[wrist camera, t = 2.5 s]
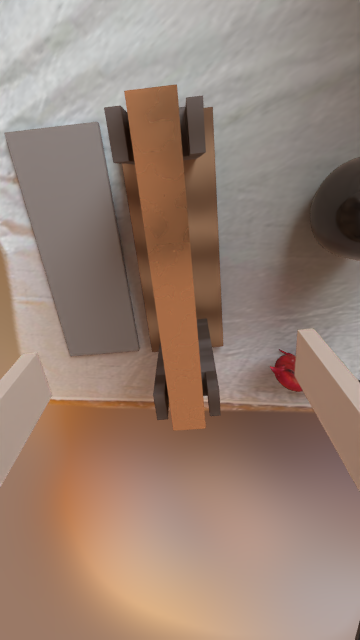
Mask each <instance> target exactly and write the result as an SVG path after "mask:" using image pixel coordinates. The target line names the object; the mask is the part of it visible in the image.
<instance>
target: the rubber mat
mask: <svg viewBox="0 0 360 640" xmlns="http://www.w3.org/2000/svg"><path fill="white" fill-rule="evenodd" d="M5 136H6V140H7V143H8V147H9V150H10V153H11V157H12V160H13V164H14V167H15V170H16V174H17V177H18V180H19V184H20V187H21V191H22V194H23V197H24V201H25V204H26V208H27V211H28V214H29V218H30V221H31V224H32V228H33V231H34V235H35V238H36V241H37V245H38V248H39V252H40V255H41V258H42V262H43V265H44V269H45V272H46V275H47V279H48V282H49V285H50V289H51V292H52V296H53V299H54V302H55V306H56V309H57V313H58V316H59V319H60V323H61V326H62V329H63V333H64V336H65V340H66V343H67V346H68V350H69V353H70V356H81V355H93V354H105V353H117V352H129V351H139V342H138V337H137V331H136V326H135V320H134V315H133V309H132V304H131V298H130V292H129V287H128V281H127V276H126V270H125V265H124V259H123V254H122V248H121V243H120V237H119V231H118V226H117V220H116V215H115V209H114V204H113V198H112V193H111V187H110V181H109V176H108V170H107V165H106V159H105V154H104V148H103V143H102V137H101V131H100V126H99V123H98V122H91V123H83V124H74V125H66V126H57V127H49V128H41V129H32V130H24V131H15V132H7V133H5Z"/></svg>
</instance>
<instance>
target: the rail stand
mask: <svg viewBox="0 0 360 640" xmlns="http://www.w3.org/2000/svg"><path fill="white" fill-rule="evenodd" d="M104 110H105V116H106V122H107V127H108V133H109V139H110V145H111V151H112V157H113V163H122V167H123V173H124V180H125V186H126V192H127V198H128V205H129V211H130V217H131V223H132V229H133V236H134V242H135V248H136V254H137V261H138V267H139V273H140V279H141V285H142V292H143V298H144V304H145V310H146V317H147V323H148V329H149V335H150V341H151V348H152V352H159V353H158V361H157V369H156V377H155V385H154V393H153V397H154V402H155V408H156V414H157V420H164V419H168V409H169V396H168V389H167V382H166V376H165V369H164V362H163V355H162V348H161V341H160V334H159V327H158V320H157V313H156V306H155V300H154V293H153V286H152V279H151V272H150V265H149V258H148V251H147V244H146V237H145V230H144V223H143V217H142V210H141V203H140V196H139V189H138V182H137V175H136V168H135V161H134V154H133V147H132V140H131V134H130V127H129V120H128V113H127V112H126V111H125V110H124V109H123V108H122V107H121V106H114V107H105V108H104ZM179 117H180V129H181V141H182V153H183V164H184V176H185V188H186V200H187V212H188V224H189V236H190V248H191V259H192V271H193V283H194V295H195V307H196V319H197V331H198V342H199V354H200V366H201V378H202V390H203V396H207V395H208V403H209V412H210V416H219V415H220V396H219V386H218V380H217V374H216V369H215V363H214V357H213V351H212V347H220V346H223V328H222V306H221V284H220V261H219V239H218V217H217V195H216V172H215V150H214V128H213V107H208V108H203V96H197V97H188V98H186V107H179Z"/></svg>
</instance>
